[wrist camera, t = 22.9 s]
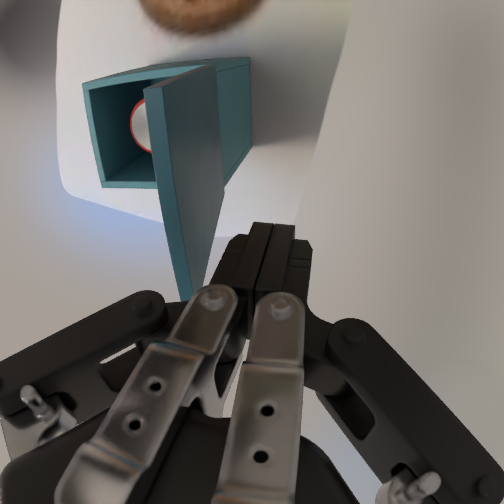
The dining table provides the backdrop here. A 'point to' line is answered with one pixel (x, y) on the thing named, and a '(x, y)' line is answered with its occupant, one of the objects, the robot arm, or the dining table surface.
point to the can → (140, 126)
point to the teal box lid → (187, 168)
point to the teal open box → (131, 92)
